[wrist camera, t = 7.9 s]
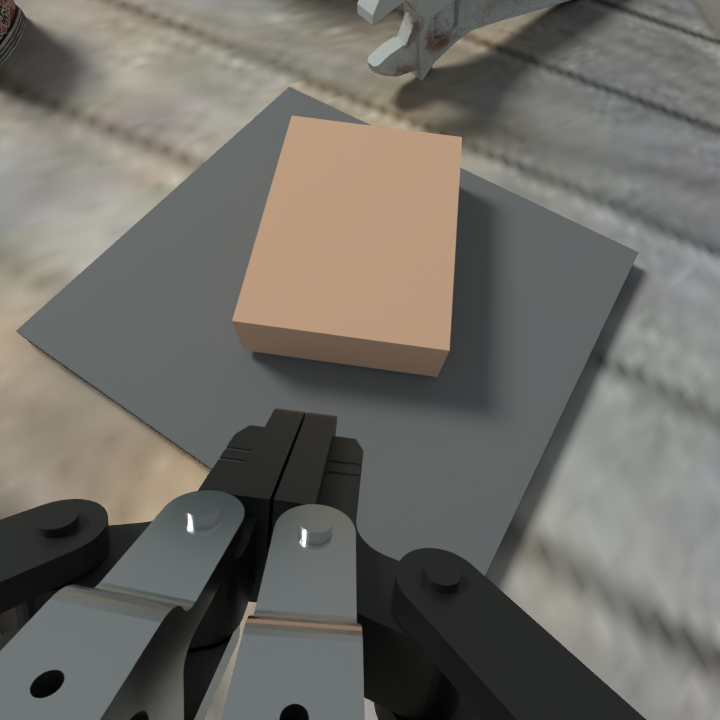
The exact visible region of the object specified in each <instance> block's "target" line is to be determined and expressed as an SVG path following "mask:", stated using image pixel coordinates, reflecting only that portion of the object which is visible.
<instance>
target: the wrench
mask: <svg viewBox="0 0 720 720" xmlns="http://www.w3.org/2000/svg"><path fill="white" fill-rule="evenodd" d="M566 1H569V0H358V3H357V12H358V14H359V15H360V16H361V17H363V18H364V19H365V20H366V21H368V22H369V23H370V24H371V25H375V24H376V23H377V22H378V21H380V20H381V19H382V18H384V17H385V16H386V15H387V14H389V13H390V12H391V11H392V10H394V9H395V8H396V7H397V6H399V5H400V4H401V3H403V8H404V19H403V22H402V24H401V27H400V30H399V33H398V35H397V37H393V38H391V39H390V40H388V41H387V42H385V43H384V44H382V45H381V46H379V47H378V48H377V49H376V50H375V51H374V52H373V53H372V54H371V55H370V56H369V57H368V65H369V68H370V69H371V70H372V71H374V72H375V73H377V74H381V75H384V76H400V75H403V74H406V73H409V72H411V73H413V74H414V75H415V76H416V77H418V78H419V79H420V80H423V79H424V77H425V76H426V74H427V73H428V71H429V70H430V69H431V67H432V66H433V64H434V63H435V61H436V60H437V59H439V58H440V57H441V56H442V55H443V54H444V53H445V52H446V51H447V50H448V49H449V48H450V47H451V46H452V45H453V44H454V43H455V42H456V41H458V40H459V39H460V38H462V37H463V36H465V35H466V34H468V33H469V32H470V31H472V30H474V29H477V28H480V27H483V26H486V25H489V24H492V23H495V22H498V21H501V20H505V19H508V18H512V17H515V16H519V15H522V14H526V13H529V12H533V11H536V10H539V9H543V8H546V7H550V6H553V5H556V4H560V3H563V2H566Z"/></svg>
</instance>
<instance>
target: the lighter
mask: <svg viewBox="0 0 720 720" xmlns="http://www.w3.org/2000/svg"><path fill="white" fill-rule="evenodd" d="M26 23H27V19H26V17H25V15H24V13H23V12H22V10H21V8H20V6H19V5H18V4H16V3H15V2H14V1H13V0H0V66H1V65H2V64H3V63H4V62H5V61H6V60H7V59H8V57H9V56H10V55H11V53H12V52H13V51H14V49H15V48H16V47H17V45H18V43H19V41H20V39H21V37H22V35H23V33H24V29H25V26H26Z"/></svg>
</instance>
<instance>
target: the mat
mask: <svg viewBox="0 0 720 720" xmlns="http://www.w3.org/2000/svg"><path fill="white" fill-rule="evenodd" d="M291 116H300V117H308V118H316V119H323V120H331V121H339V122H347V123H355V124H363V125H369V124H367V123H365V122H363V121H360V120H358V119H356V118H354V117H352V116H350V115H348V114H346V113H344V112H342V111H339V110H337V109H335V108H333V107H331V106H329V105H327V104H325V103H323V102H320V101H318V100H316V99H314V98H312V97H310V96H308V95H306V94H304V93H301V92H299V91H297V90H295V89H293V88H291V87H289V88H288V89H286V90H285V91H284V92H283V93H282V94H281V95H280V96H279V97H277V98H276V99H275V100H274V101H273V102H272V103H271V104H270V105H268V106H267V107H266V108H265V109H264V110H263V111H262V112H261V113H260V114H258V115H257V116H256V117H255V118H254V119H253V120H252V121H251V122H249V123H248V124H247V125H246V126H245V127H244V128H243V129H242V130H240V131H239V132H238V133H237V134H236V135H235V136H234V137H233V138H232V139H230V140H229V141H228V142H227V143H226V144H225V145H224V146H223V147H221V148H220V149H219V150H218V151H217V152H216V153H215V154H214V155H213V156H211V157H210V158H209V159H208V160H207V161H206V162H205V163H204V164H202V165H201V166H200V167H199V168H198V169H197V170H196V171H195V172H193V173H192V174H191V175H190V176H189V177H188V178H187V179H186V180H185V181H183V182H182V183H181V184H180V185H179V186H178V187H177V188H176V189H174V190H173V191H172V192H171V193H170V194H169V195H168V196H167V197H165V198H164V199H163V200H162V201H161V202H160V203H159V204H158V205H157V206H155V207H154V208H153V209H152V210H151V211H150V212H149V213H148V214H146V215H145V216H144V217H143V218H142V219H141V220H140V221H139V222H137V223H136V224H135V225H134V226H133V227H132V228H131V229H130V230H129V231H127V232H126V233H125V234H124V235H123V236H122V237H121V238H120V239H118V240H117V241H116V242H115V243H114V244H113V245H112V246H111V247H109V248H108V249H107V250H106V251H105V252H104V253H103V254H102V255H101V256H99V257H98V258H97V259H96V260H95V261H94V262H93V263H92V264H90V265H89V266H88V267H87V268H86V269H85V270H84V271H83V272H82V273H80V274H79V275H78V276H77V277H76V278H75V279H74V280H73V281H71V282H70V283H69V284H68V285H67V286H66V287H65V288H64V289H62V290H61V291H60V292H59V293H58V294H57V295H56V296H55V297H54V298H52V299H51V300H50V301H49V302H48V303H47V304H46V305H45V306H43V307H42V308H41V309H40V310H39V311H38V312H37V313H36V314H34V315H33V316H32V317H31V318H30V319H29V320H28V321H27V322H26V323H24V324H23V325H22V326H21V327H20V328H19V329H18V330H17V331H16V332H18V333H19V334H20V335H21V336H23V337H24V338H25V339H27V340H28V341H29V342H31V343H32V344H34V345H35V346H36V347H38V348H39V349H41V350H42V351H43V352H45V353H46V354H48V355H49V356H51V357H52V358H53V359H55V360H56V361H58V362H59V363H61V364H62V365H63V366H65V367H66V368H68V369H69V370H71V371H72V372H73V373H75V374H76V375H78V376H79V377H80V378H82V379H83V380H85V381H86V382H88V383H89V384H90V385H92V386H93V387H95V388H96V389H98V390H99V391H100V392H102V393H103V394H105V395H106V396H107V397H109V398H110V399H112V400H113V401H115V402H116V403H117V404H119V405H120V406H122V407H123V408H125V409H126V410H127V411H129V412H130V413H132V414H133V415H134V416H136V417H137V418H139V419H140V420H142V421H143V422H144V423H146V424H147V425H149V426H150V427H152V428H153V429H154V430H156V431H157V432H159V433H160V434H161V435H163V436H164V437H166V438H167V439H169V440H170V441H171V442H173V443H174V444H176V445H177V446H179V447H180V448H181V449H183V450H184V451H186V452H187V453H188V454H190V455H191V456H193V457H194V458H196V459H197V460H198V461H200V462H201V463H203V464H204V465H206V466H207V467H208V468H210V469H211V470H212V468H213V467H214V465H215V464H216V462H217V461H218V459H220V456H221V455H222V453H223V451H224V450H225V449H226V448H227V445H228V444H229V442H230V441H231V439H232V438H233V436H234V435H235V434H236V433H238V432H239V431H241V430H243V429H244V428H246V427H248V426H249V425H253V426H261V427H265V426H266V424H267V422H268V420H269V418H270V416H271V414H272V413H273V411H274V409H275V408H279V409H286V410H294V411H302V412H306V414H307V412H310V413H318V414H326V415H333V416H337V427H336V436H338V437H346V438H353V439H356V440H357V441H358V443H359V445H360V446H361V448H362V449H363V451H364V452H363V461H362V471H361V481H360V490H359V500H358V510H357V519H356V525H357V529H358V532H359V534H360V536H361V537H362V538H363V540H364V541H365V542H366V543H367V544H368V545H369V546H371V547H372V548H373V549H375V550H376V551H378V552H380V553H382V554H384V555H386V556H388V557H391V558H393V559H396V560H398V561H400V560H401V558H402V557H403V556H405V555H406V554H407V553H409V552H411V551H413V550H416V549H421V548H438V549H442V550H446V551H449V552H452V553H454V554H456V555H459V556H460V557H462V558H464V559H465V560H467V561H468V562H469V563H470V564H472V565H473V566H474V567H475V568H476V569H477V570H478V571H479V572H481V573H482V574H483V575H484V576H485V575H486V573H487V570H488V568H489V566H490V564H491V562H492V560H493V558H494V556H495V554H496V552H497V549H498V547H499V545H500V543H501V541H502V539H503V537H504V535H505V533H506V530H507V528H508V526H509V524H510V522H511V520H512V518H513V516H514V514H515V511H516V509H517V507H518V505H519V503H520V501H521V499H522V497H523V495H524V493H525V490H526V488H527V486H528V484H529V482H530V480H531V478H532V476H533V474H534V471H535V469H536V467H537V465H538V463H539V461H540V459H541V457H542V455H543V452H544V450H545V448H546V446H547V444H548V442H549V440H550V438H551V436H552V434H553V431H554V429H555V427H556V425H557V423H558V421H559V419H560V417H561V415H562V412H563V410H564V408H565V406H566V404H567V402H568V400H569V398H570V396H571V393H572V391H573V389H574V387H575V385H576V383H577V381H578V379H579V377H580V375H581V372H582V370H583V368H584V366H585V364H586V362H587V360H588V358H589V356H590V353H591V351H592V349H593V347H594V345H595V343H596V341H597V339H598V337H599V334H600V332H601V330H602V328H603V326H604V324H605V322H606V320H607V318H608V315H609V313H610V311H611V309H612V307H613V305H614V303H615V301H616V299H617V297H618V294H619V292H620V290H621V288H622V286H623V284H624V282H625V280H626V278H627V275H628V273H629V271H630V269H631V267H632V265H633V263H634V261H635V259H636V256H637V254H638V252H636V251H634V250H632V249H630V248H628V247H626V246H624V245H622V244H620V243H617V242H615V241H613V240H611V239H609V238H607V237H605V236H603V235H601V234H599V233H596V232H594V231H592V230H590V229H588V228H586V227H584V226H582V225H580V224H577V223H575V222H573V221H571V220H569V219H567V218H565V217H563V216H561V215H558V214H556V213H554V212H552V211H550V210H548V209H546V208H544V207H542V206H540V205H537V204H535V203H533V202H531V201H529V200H527V199H525V198H523V197H521V196H518V195H516V194H514V193H512V192H510V191H508V190H506V189H504V188H502V187H500V186H497V185H495V184H493V183H491V182H489V181H487V180H485V179H483V178H481V177H478V176H476V175H474V174H472V173H470V172H468V171H466V170H464V169H462V168H460V180H459V197H458V214H457V231H456V249H455V266H454V283H453V300H452V317H451V334H450V351H449V353H448V355H447V357H446V359H445V361H444V364H443V366H442V368H441V370H440V372H439V374H438V376H437V377H433V376H426V375H419V374H412V373H404V372H397V371H390V370H383V369H375V368H368V367H361V366H354V365H347V364H339V363H332V362H325V361H318V360H310V359H303V358H296V357H289V356H282V355H274V354H267V353H260V352H253V351H245V350H244V349H243V347H242V344H241V342H240V339H239V337H238V334H237V332H236V329H235V327H234V324H233V322H232V319H233V316H234V312H235V309H236V306H237V302H238V299H239V295H240V292H241V288H242V285H243V281H244V278H245V274H246V271H247V268H248V264H249V261H250V257H251V254H252V250H253V247H254V243H255V240H256V237H257V233H258V230H259V226H260V223H261V219H262V216H263V212H264V209H265V206H266V202H267V199H268V195H269V192H270V188H271V185H272V181H273V178H274V175H275V171H276V168H277V164H278V161H279V157H280V154H281V150H282V147H283V144H284V140H285V137H286V133H287V130H288V126H289V123H290V119H291ZM370 126H371V125H370Z"/></svg>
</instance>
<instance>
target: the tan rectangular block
mask: <svg viewBox="0 0 720 720" xmlns="http://www.w3.org/2000/svg"><path fill="white" fill-rule="evenodd" d="M461 146H462V137H457V136H449V135H441V134H433V133H425V132H418V131H410V130H402V129H394V128H386V127H378V126H370V125H363V124H355V123H347V122H339V121H331V120H323V119H316V118H308V117H300V116H291V119H290V123H289V126H288V130H287V133H286V137H285V140H284V144H283V147H282V150H281V154H280V157H279V161H278V164H277V168H276V171H275V175H274V178H273V181H272V185H271V188H270V192H269V195H268V199H267V202H266V206H265V209H264V212H263V216H262V219H261V223H260V226H259V230H258V233H257V237H256V240H255V243H254V247H253V250H252V254H251V257H250V261H249V264H248V268H247V271H246V274H245V278H244V281H243V285H242V288H241V292H240V295H239V299H238V302H237V306H236V309H235V312H234V316H233V319H232V322H233V324H234V327H235V329H236V332H237V334H238V337H239V339H240V342H241V344H242V347H243V349H244V350H245V351H253V352H260V353H267V354H274V355H282V356H289V357H296V358H303V359H310V360H318V361H325V362H332V363H339V364H347V365H354V366H361V367H368V368H375V369H383V370H390V371H397V372H404V373H412V374H419V375H426V376H433V377H437V376H438V374H439V372H440V370H441V368H442V366H443V364H444V361H445V359H446V357H447V355H448V353H449V351H450V334H451V317H452V300H453V283H454V266H455V249H456V231H457V214H458V197H459V180H460V163H461Z"/></svg>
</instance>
